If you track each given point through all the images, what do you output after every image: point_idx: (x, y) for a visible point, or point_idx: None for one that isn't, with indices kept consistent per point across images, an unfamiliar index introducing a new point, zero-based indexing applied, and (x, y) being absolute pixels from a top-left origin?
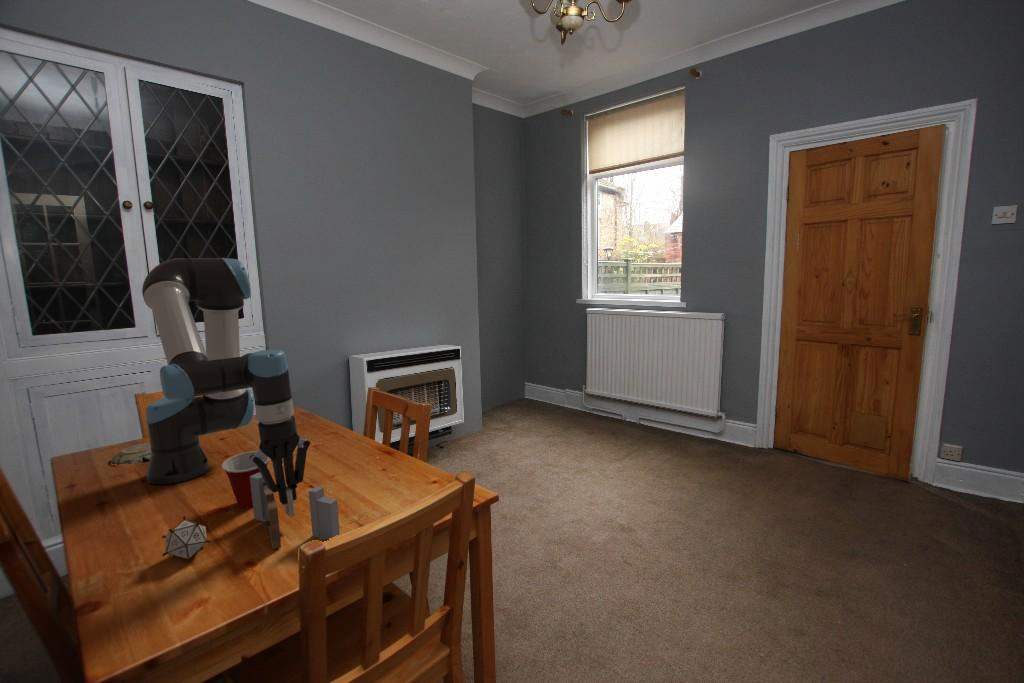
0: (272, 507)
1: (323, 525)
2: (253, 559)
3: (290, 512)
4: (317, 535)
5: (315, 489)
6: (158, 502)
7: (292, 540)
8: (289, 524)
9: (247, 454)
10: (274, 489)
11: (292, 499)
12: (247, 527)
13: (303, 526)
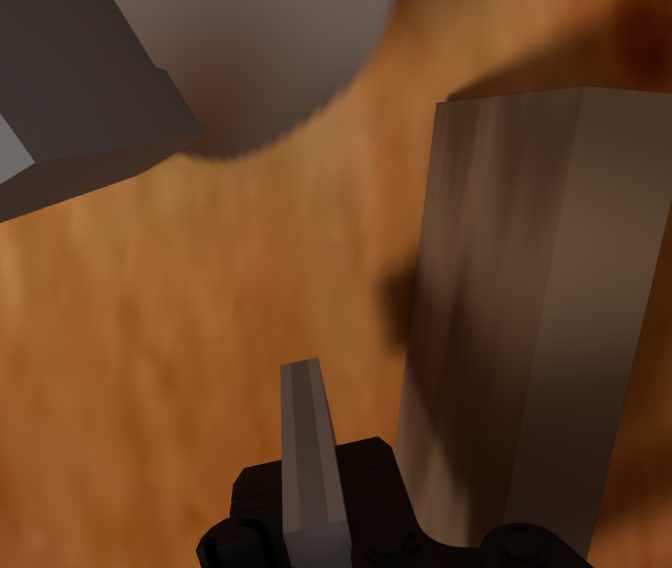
0: (628, 165)
1: (87, 6)
2: (616, 85)
3: (317, 374)
4: (170, 82)
5: None
6: None
7: (342, 169)
8: None
9: None
10: (540, 554)
11: (285, 447)
12: None
13: (236, 316)
